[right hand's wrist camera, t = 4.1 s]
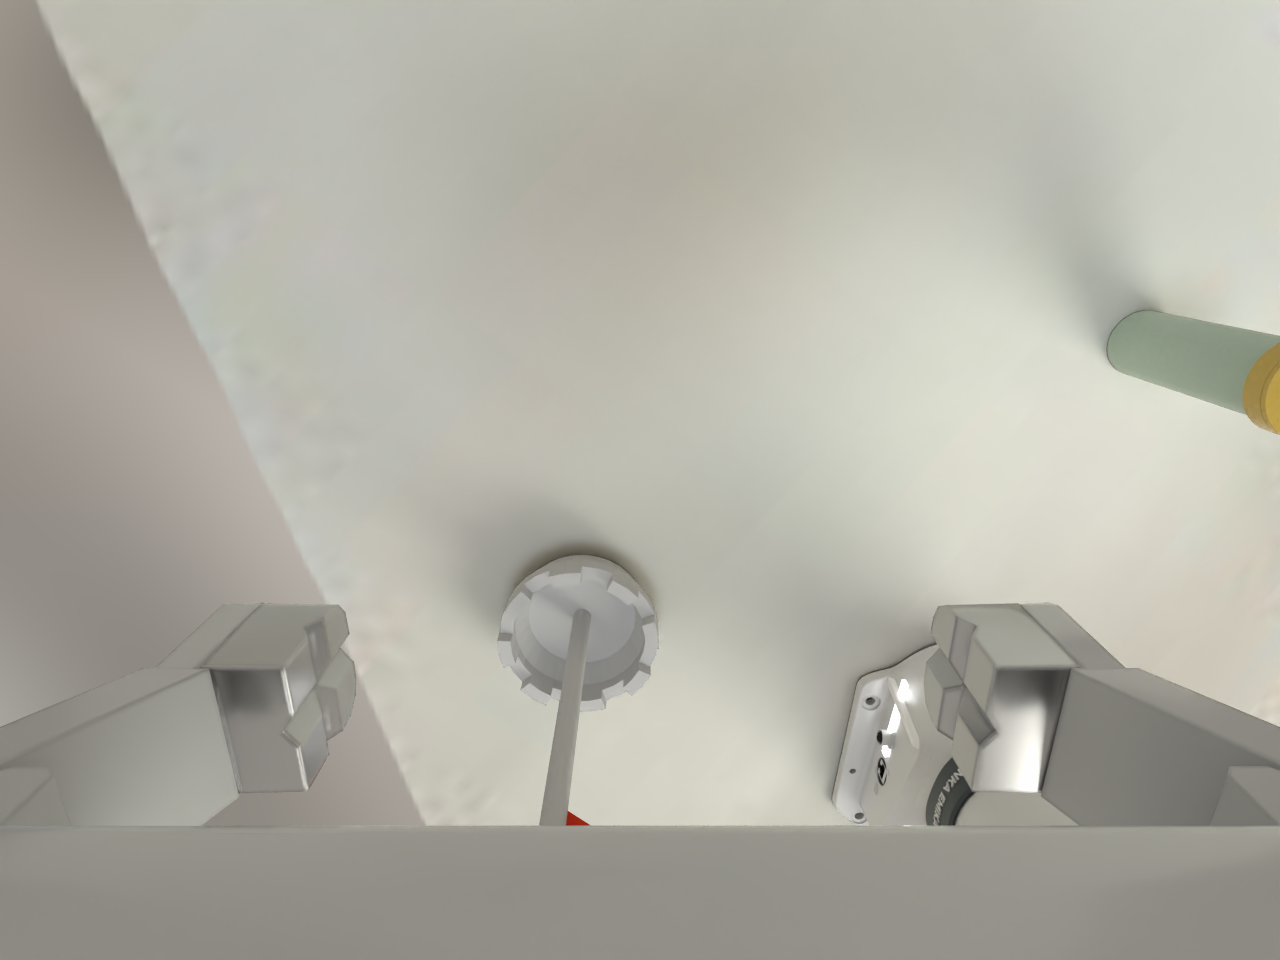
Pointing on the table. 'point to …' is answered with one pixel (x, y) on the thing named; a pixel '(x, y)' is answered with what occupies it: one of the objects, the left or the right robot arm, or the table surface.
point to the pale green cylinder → (1188, 355)
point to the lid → (1264, 391)
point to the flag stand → (576, 652)
